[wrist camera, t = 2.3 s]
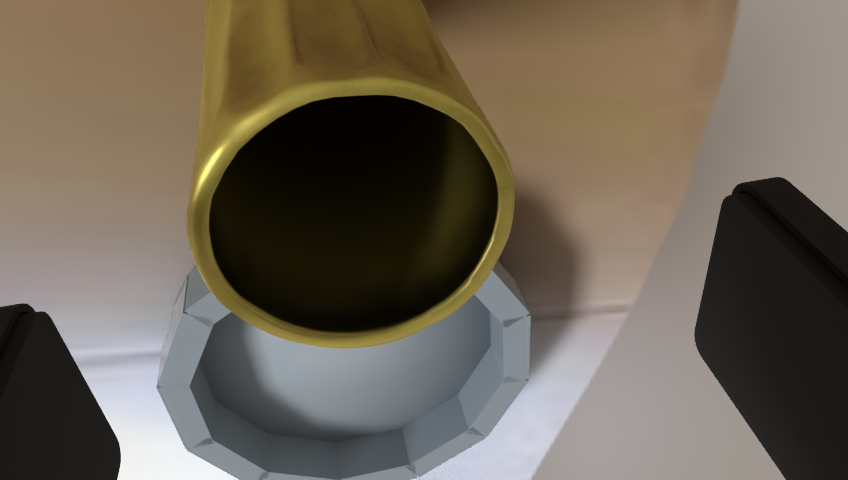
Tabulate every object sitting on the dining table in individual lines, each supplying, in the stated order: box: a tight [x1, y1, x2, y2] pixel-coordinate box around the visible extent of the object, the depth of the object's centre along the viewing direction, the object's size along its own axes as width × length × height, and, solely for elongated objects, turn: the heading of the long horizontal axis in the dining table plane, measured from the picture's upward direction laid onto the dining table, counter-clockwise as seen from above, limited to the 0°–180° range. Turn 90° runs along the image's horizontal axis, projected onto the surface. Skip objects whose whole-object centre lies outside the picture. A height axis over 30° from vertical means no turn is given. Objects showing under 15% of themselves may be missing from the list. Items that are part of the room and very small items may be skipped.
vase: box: [187, 0, 515, 349], centre depth 16 cm, size 6×6×14 cm
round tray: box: [157, 259, 531, 480], centre depth 31 cm, size 15×15×3 cm
